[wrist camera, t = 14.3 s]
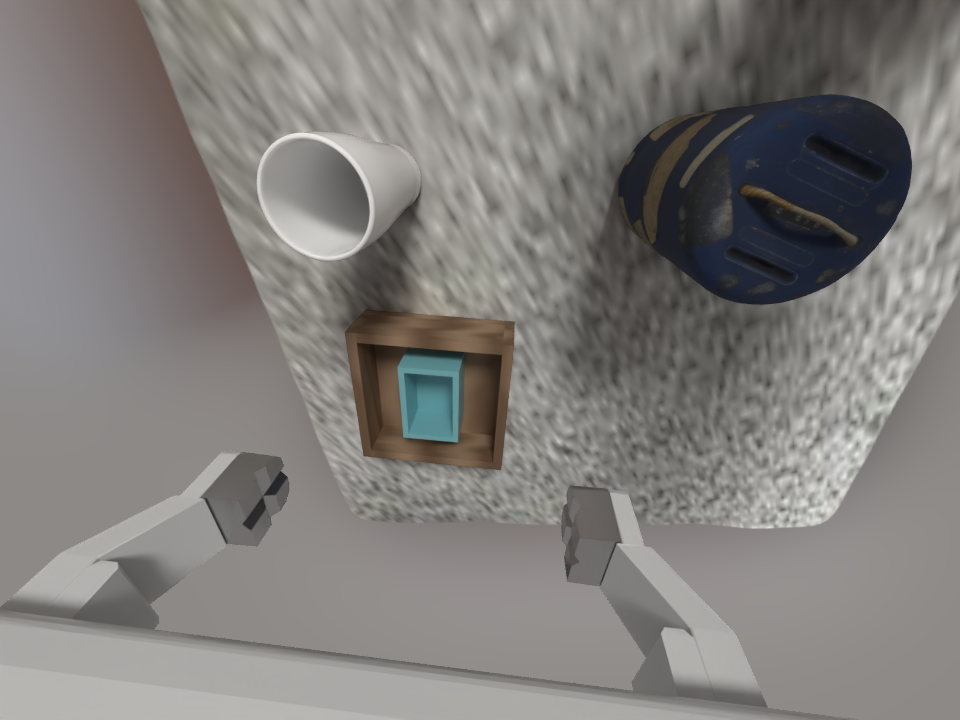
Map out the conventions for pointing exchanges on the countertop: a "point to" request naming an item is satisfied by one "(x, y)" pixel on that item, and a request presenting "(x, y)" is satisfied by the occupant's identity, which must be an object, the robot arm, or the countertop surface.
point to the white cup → (334, 191)
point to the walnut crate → (377, 395)
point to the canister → (769, 193)
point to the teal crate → (432, 393)
